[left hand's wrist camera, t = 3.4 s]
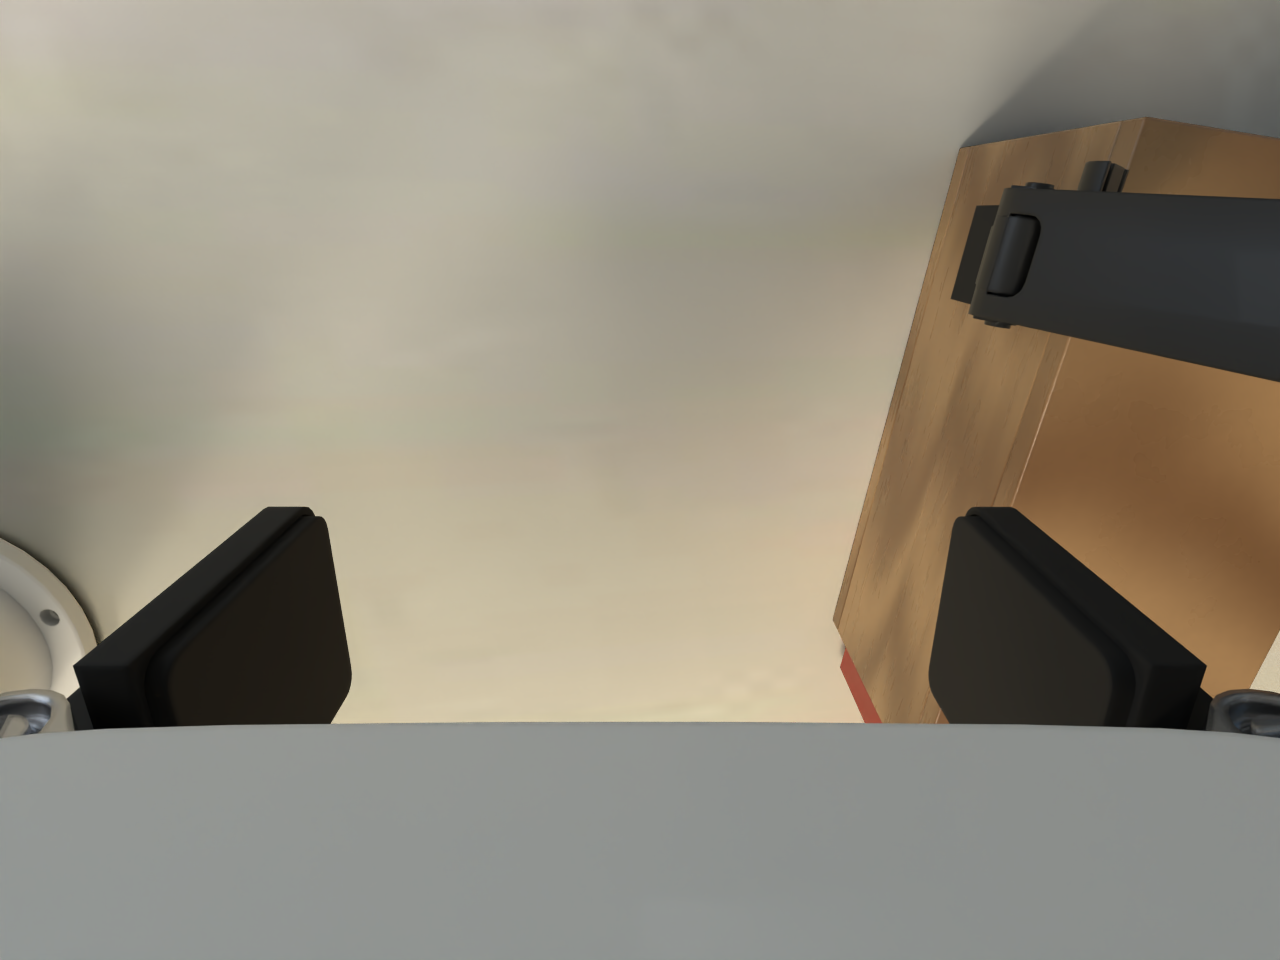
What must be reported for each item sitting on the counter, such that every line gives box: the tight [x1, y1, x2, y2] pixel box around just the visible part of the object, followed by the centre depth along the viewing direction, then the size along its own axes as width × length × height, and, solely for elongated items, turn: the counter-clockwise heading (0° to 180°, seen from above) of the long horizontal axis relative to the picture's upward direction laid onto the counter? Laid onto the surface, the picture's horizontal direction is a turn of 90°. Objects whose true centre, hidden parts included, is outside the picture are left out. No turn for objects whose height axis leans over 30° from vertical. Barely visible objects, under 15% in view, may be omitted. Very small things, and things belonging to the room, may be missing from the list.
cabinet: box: [833, 117, 1280, 724], centre depth 27 cm, size 21×10×11 cm, turn 172°
